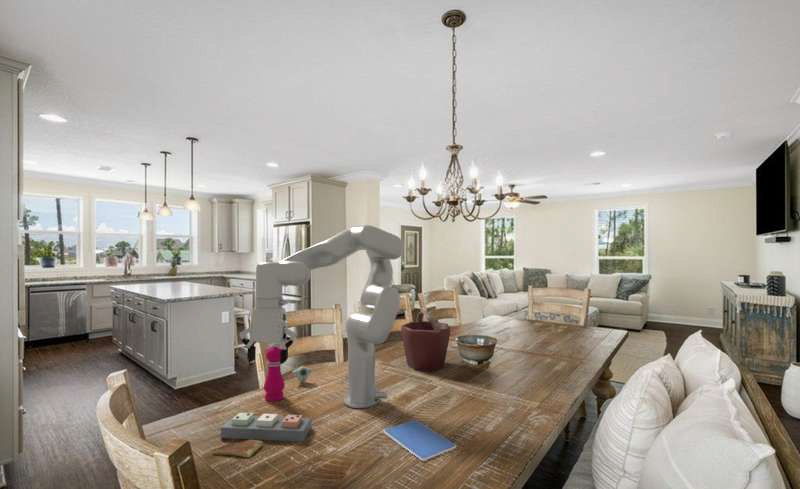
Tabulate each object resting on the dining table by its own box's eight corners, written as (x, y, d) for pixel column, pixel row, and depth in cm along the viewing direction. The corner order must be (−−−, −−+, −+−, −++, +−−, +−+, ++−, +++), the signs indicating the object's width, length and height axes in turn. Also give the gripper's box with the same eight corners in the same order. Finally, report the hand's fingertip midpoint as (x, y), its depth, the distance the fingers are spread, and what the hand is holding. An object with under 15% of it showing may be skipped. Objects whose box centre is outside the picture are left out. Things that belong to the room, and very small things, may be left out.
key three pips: (302, 421, 112) (302, 414, 112) (296, 428, 108) (296, 421, 108) (287, 421, 112) (287, 413, 112) (281, 428, 108) (282, 420, 108)
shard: (211, 455, 99) (211, 449, 99) (229, 441, 107) (229, 435, 107) (248, 460, 97) (248, 453, 97) (264, 445, 105) (264, 438, 105)
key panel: (311, 428, 114) (311, 418, 114) (302, 441, 106) (302, 430, 106) (235, 424, 116) (235, 415, 116) (220, 437, 108) (220, 427, 108)
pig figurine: (311, 379, 155) (311, 363, 156) (313, 383, 152) (313, 366, 152) (291, 382, 152) (291, 366, 152) (293, 386, 148) (293, 369, 148)
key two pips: (253, 419, 113) (253, 412, 113) (246, 426, 109) (246, 419, 109) (239, 419, 114) (239, 411, 114) (231, 426, 109) (231, 418, 109)
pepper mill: (278, 403, 132) (278, 346, 132) (259, 401, 133) (260, 344, 134) (288, 395, 139) (288, 341, 139) (270, 393, 140) (270, 340, 141)
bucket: (451, 374, 162) (452, 317, 163) (400, 374, 163) (401, 316, 163) (445, 358, 187) (445, 308, 187) (401, 357, 187) (401, 307, 188)
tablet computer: (458, 449, 103) (458, 445, 103) (422, 465, 96) (422, 459, 96) (415, 423, 119) (415, 418, 119) (381, 434, 111) (381, 429, 111)
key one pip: (277, 420, 113) (277, 413, 113) (271, 427, 108) (271, 420, 108) (263, 420, 113) (263, 412, 113) (256, 427, 109) (256, 419, 109)
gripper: (301, 302, 114) (300, 359, 114) (247, 301, 116) (245, 357, 116) (292, 306, 107) (291, 366, 107) (234, 304, 109) (232, 364, 108)
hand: (267, 361), depth 111 cm, fingers open, 9 cm apart
